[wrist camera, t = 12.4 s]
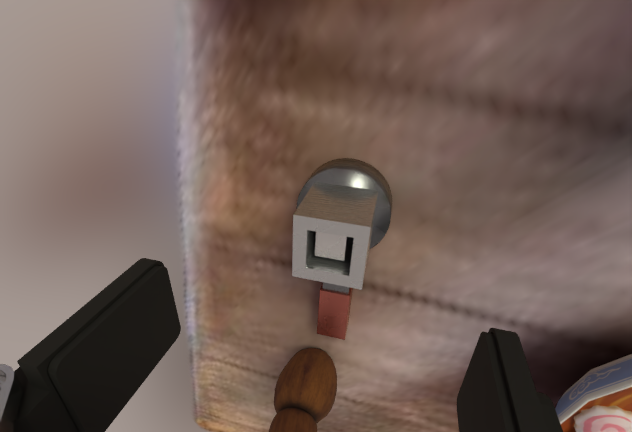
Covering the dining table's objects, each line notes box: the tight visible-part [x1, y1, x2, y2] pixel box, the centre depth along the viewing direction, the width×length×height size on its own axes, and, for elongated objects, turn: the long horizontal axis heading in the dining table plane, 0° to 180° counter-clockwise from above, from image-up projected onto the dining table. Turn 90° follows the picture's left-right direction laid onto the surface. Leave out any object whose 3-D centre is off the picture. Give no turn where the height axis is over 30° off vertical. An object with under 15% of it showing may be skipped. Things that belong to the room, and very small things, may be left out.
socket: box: [292, 182, 378, 290], centre depth 26 cm, size 5×5×6 cm
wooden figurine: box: [269, 348, 337, 432], centre depth 36 cm, size 7×6×15 cm
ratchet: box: [297, 158, 392, 340], centre depth 31 cm, size 8×19×8 cm, turn 177°
